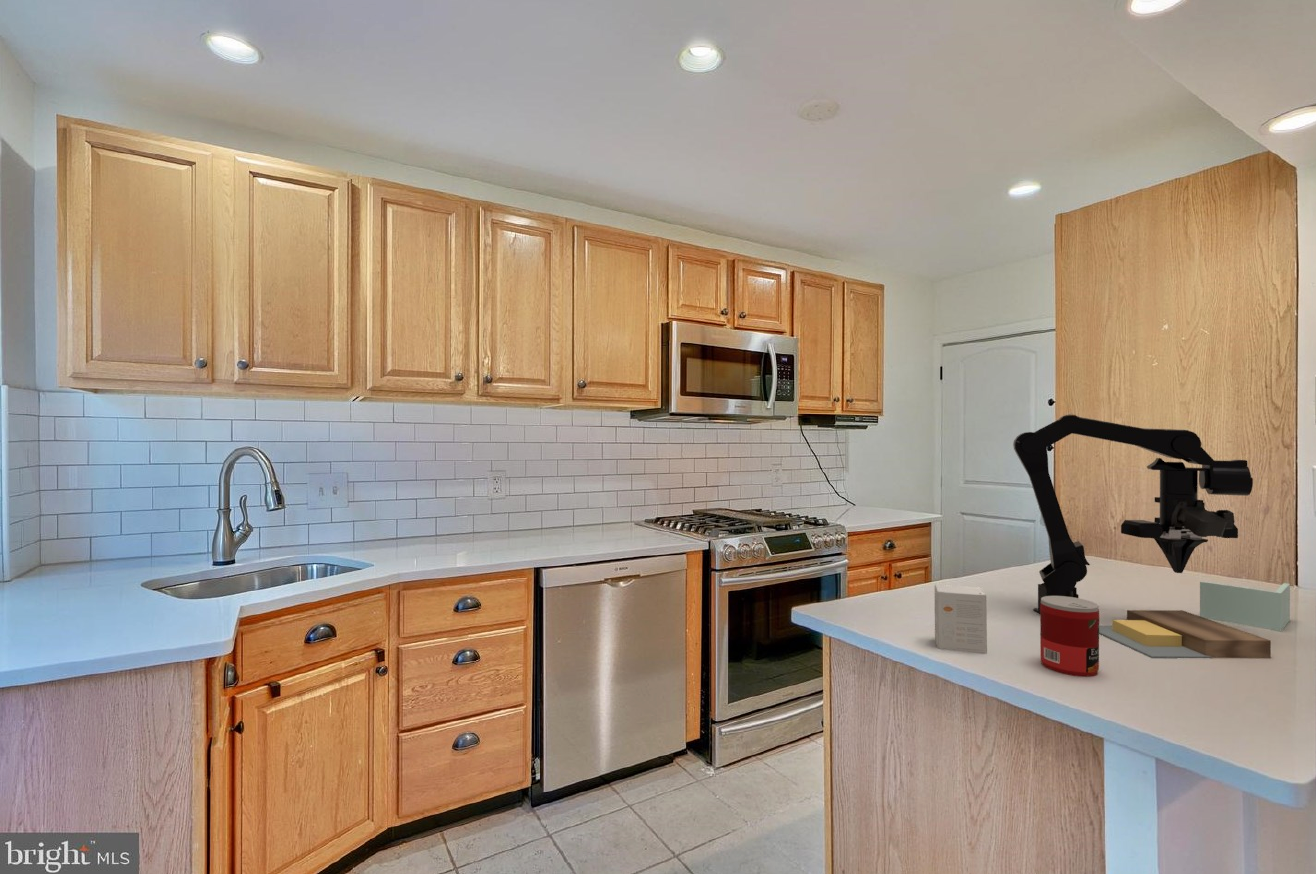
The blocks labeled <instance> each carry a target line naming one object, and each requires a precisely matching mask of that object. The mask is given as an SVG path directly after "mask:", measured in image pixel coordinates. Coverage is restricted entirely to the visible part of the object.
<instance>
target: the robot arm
mask: <svg viewBox="0 0 1316 874" xmlns="http://www.w3.org/2000/svg"><path fill="white" fill-rule="evenodd" d="M1072 434H1073V435H1079V436H1083V437H1089V438H1095V439H1099V440H1105V441H1110V442H1114V443H1118V444H1119V443H1120V444H1126V445H1131V446H1135V447H1138V448H1140V449H1144V450H1146V451H1149V452H1151V453H1154V454H1158V455H1159V456H1163V457H1166V458H1170V459H1176V460H1182V461H1184V462H1186V463H1188V464H1192V465H1193V464H1194V465H1199V466H1201V467H1186V466H1185V463H1184V462H1182V461H1165V460H1163V459H1162V458H1160V457H1156V458H1155V460H1154V461H1153V462H1152V463H1149V464H1148V465H1147V466H1146V469H1148V470H1151V471H1152V470H1153V471H1159V496H1155V497H1154V503H1158V504H1159V517H1154V521H1149V520H1144V519H1125V520H1123V522H1122V523H1121V525H1120V533H1121V534H1123V535H1127V536H1132V537H1137V538H1141V539H1142V538H1143V539H1153V540H1154V541H1155V543H1156V544H1157V545H1158V547H1159V548H1160V550H1161V552H1162V553H1163V555H1164V557H1165V558H1166V560H1167V562H1168V564H1169V566H1170V567H1171V569H1172V571H1173V572H1174V573H1176V574H1183V572H1184V570H1185V569H1186V566H1187V564H1188V562H1189V560H1190V558H1191V556H1192V554H1193V552H1194V550H1195V549H1196V548H1197V547H1199V546H1200V545H1202V544H1203V543H1209V542H1208V541H1209V539H1206V537H1217V538H1221V539H1222V538H1223V539H1238V538H1239V528H1238V527H1237V526H1236V524H1235V513H1234V512H1233V511H1231V510H1229V509H1218V510H1216V511H1214V510H1213V511H1212V510H1210V511H1209V510H1207V509H1206V508H1205V507H1206V506H1205V505H1206V503H1205V502H1204V500H1203V499H1199V498H1198V497H1199V496H1198V492H1199V491H1198V490H1199V488H1200V489H1201V490H1205V491H1206V493H1207V495H1214V496H1218V495H1219V496H1242V497H1243V496H1245V497H1248V496H1249V495H1250V494H1251V493H1252V490H1253V487H1254V485H1253V484H1254V479H1253V477H1252V474H1251V471H1250V470H1251V469H1250V468H1249V466H1248V460H1247V459H1232V460H1231V459H1230V460H1217V459H1214V458H1212V457H1211V455H1210V454H1209V453H1208V452H1206V450H1205V449H1204V448H1203V447H1202V441H1201V438H1200V437H1199V436H1198V435H1197V433H1195V432H1194V431H1191V430H1188V429H1173V428H1170V429H1167V428H1145V427H1143V428H1142V427H1137V426H1132V425H1125V424H1121V423H1115V422H1110V421H1103V420H1098V419H1092V418H1088V417H1087V418H1086V417H1081V416H1078V415H1076V414H1065V415H1063V416H1060V417H1059V418H1058V419H1057V420H1055V421H1053V422H1051V423H1049V424H1047V425H1045V426H1043V427H1041V428H1039V429H1038V430H1036V431H1033V432H1032V431H1027V432H1023V433H1020V434H1018V435H1017V436H1016V437H1015V439H1014V440H1013V444H1012V446H1013V449H1014V450H1013V451H1014V452H1015V455H1016V456H1017V458H1018V459H1019V462H1020V463H1021V465H1022V467H1023V468H1024V470H1025V471H1026V473H1027V475H1028V477H1029V481H1030V483H1031V487H1032V491H1033V493H1034V497H1035V499H1036V502H1037V505H1038V509H1039V512H1040V515H1041V518H1042V521H1043V524H1044V528H1045V531H1046V533H1047V536H1048V551H1049V560H1050V563H1049V564H1047V565H1045V566H1044V567H1043V568H1042V569H1040V570H1039V571H1038V573H1039V575H1040V577H1041V580H1042V582H1043V583H1038V584H1037V607H1033V611H1034V612H1036V613H1038V614H1040V606H1041V598H1042V597H1045V596H1066V597H1074V598H1079V594H1078V592H1077V591H1078V590H1077V583H1080V582H1082V581H1083V580H1084V579H1085V578H1086V576H1087V574H1088V567H1087V566H1090V565H1091V564H1090V563H1089V562H1088V560H1087V558H1086V555H1085V554H1086V553H1085V547H1084V545H1083V544H1082V543H1081V542H1080V541H1078V540H1077V541H1074V542H1073V540H1072V538H1071V537H1070V534H1069V530H1068V528H1067V524H1066V521H1065V518H1064V515H1063V513H1062V508H1061V507H1060V503H1059V500H1058V496H1057V494H1056V491H1055V488H1054V485H1053V482H1052V479H1051V475H1050V470H1049V458H1048V447H1050V446H1052V445H1054V444H1055V443H1057V442H1059V441H1061V440H1062V439H1064V438H1066V437H1068V436H1069V435H1072ZM1198 485H1199V488H1198Z"/></svg>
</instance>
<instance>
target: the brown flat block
mask: <svg viewBox="0 0 1316 874" xmlns="http://www.w3.org/2000/svg"><path fill="white" fill-rule="evenodd" d="M1126 620H1145V621H1148V622H1150V623H1152V624H1155V625H1157V626H1160V627H1162V628H1165V629H1167V630H1169V631H1172V632H1174V633H1177V634H1179V635H1182V646H1184V647H1186V648H1189V649H1191V650H1193V651H1196V652H1198V653H1201V654H1203V655H1206V656H1211V659H1213V658H1215V659H1222V658H1223V659H1271V658H1272V657H1271V653H1272V652H1271V651H1272V650H1271V648H1272V645H1271V644H1272V642H1271V639H1268V638H1264V637H1261V636H1258V635H1255V634H1253V633H1249V632H1247V631H1245V630H1244V631H1243V630H1241V629H1239V628H1236V627H1232V626H1229V625H1226V624H1224V623H1220V622H1217V621H1216V620H1213V619H1208V618H1203V617H1200V615H1197V614H1195V613H1191V612H1188V611H1186V610H1179V609H1177V610H1176V609H1175V610H1170V609H1169V610H1166V609H1165V610H1160V609H1159V610H1157V609H1154V610H1153V609H1152V610H1151V609H1150V610H1149V609H1147V610H1146V609H1145V610H1142V609H1141V610H1140V609H1139V610H1136V609H1135V610H1133V609H1132V610H1130V609H1129V610H1128V609H1127V610H1126Z"/></svg>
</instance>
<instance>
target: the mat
mask: <svg viewBox="0 0 1316 874" xmlns="http://www.w3.org/2000/svg"><path fill="white" fill-rule="evenodd" d="M1102 635H1103V637H1104V636H1105V637H1104V638H1107V639H1109V640H1111V641H1113V642H1115V643H1118V644H1120V645H1122V646H1124V647H1127V648H1128V647H1129V649H1130V648H1131V650H1133V651H1135V652H1137V653H1139V654H1141V655H1144V656H1146V657H1147V658H1148V657H1149V658H1151V659H1177V658H1211V656H1206V655H1203V654H1201V653H1198V652H1196V651H1193V650H1191V649H1189V648H1186V647H1184V646H1182V647H1167V646H1145V645H1143V644H1141V643H1139V642H1137V641H1135V640H1132V639H1130V638H1128V637H1126V636H1124V635H1122V634H1120V633H1117V632H1115V631H1113V630H1112V625H1099V636H1102ZM1211 659H1212V658H1211Z"/></svg>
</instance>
